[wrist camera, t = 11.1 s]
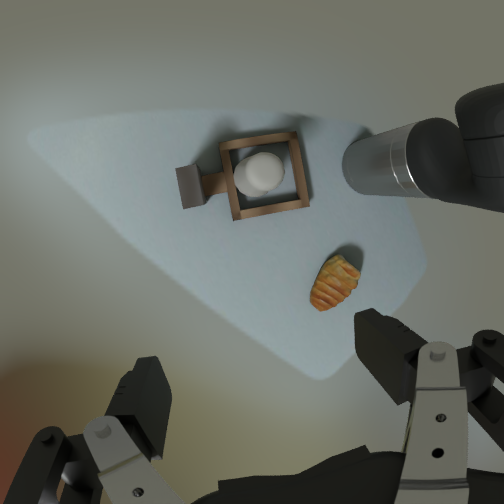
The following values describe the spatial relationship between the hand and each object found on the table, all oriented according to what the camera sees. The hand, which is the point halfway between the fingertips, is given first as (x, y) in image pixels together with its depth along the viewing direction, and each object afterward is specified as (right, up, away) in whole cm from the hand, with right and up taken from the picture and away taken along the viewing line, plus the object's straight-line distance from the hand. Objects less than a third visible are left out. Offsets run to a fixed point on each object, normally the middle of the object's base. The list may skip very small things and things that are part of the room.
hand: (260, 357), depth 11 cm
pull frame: (-1, +15, +31) cm, 34 cm away
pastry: (+13, -1, +36) cm, 38 cm away
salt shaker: (0, +15, +31) cm, 35 cm away
